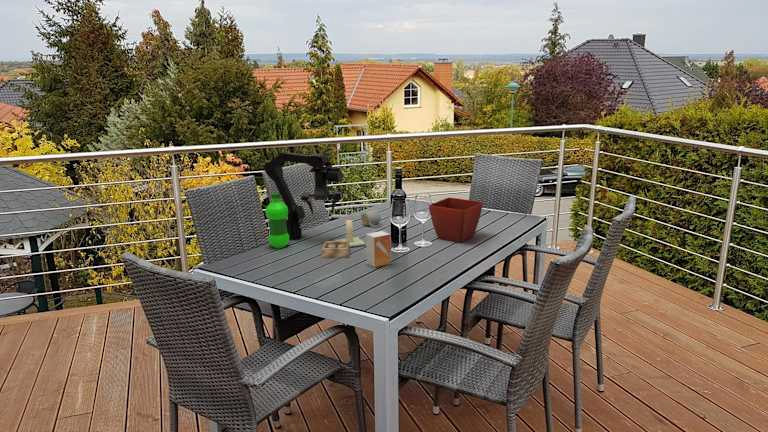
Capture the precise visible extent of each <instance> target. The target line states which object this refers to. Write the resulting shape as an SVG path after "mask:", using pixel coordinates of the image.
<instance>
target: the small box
mask: <svg viewBox="0 0 768 432" xmlns="http://www.w3.org/2000/svg"><path fill="white" fill-rule="evenodd" d="M365 236H366V237H365V239H366V240H365V241H366V242H365V243H366V245H365V246H366V264H367V265H370V266H371V267H373V268H378V267H382V266H386V265H390V264H391V262H392V261H391V233H388V232H386V231H384V230H380V231H375V232H374V231H373V232H370V233H366V234H365Z"/></svg>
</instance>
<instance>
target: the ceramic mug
mask: <svg viewBox="0 0 768 432" xmlns="http://www.w3.org/2000/svg"><path fill="white" fill-rule="evenodd" d="M381 220H382V217H381V214H380V212H379V211H378V210H377V209H371V210H369V211H364V212H363V213H362V214H361V223H362V224H363V225H364V226H366V227H367V226H368V227H369V226H370V227H371V228H375V229H376V228H379V227H380V226H381Z"/></svg>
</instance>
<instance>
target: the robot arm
mask: <svg viewBox="0 0 768 432" xmlns="http://www.w3.org/2000/svg"><path fill="white" fill-rule="evenodd" d="M287 162H291V163H298V164H305V165H308V166H310V167H311V168H310V170H309V172H310V173H313V174H314V175H313V176H314V189H313V190H314V191H313V193H311V192H310V191H309V192H302V194H301V195H300V201H302V202H304V203H306V204H307V205H308V207H309V210H310V212H311V215H314V206H313V199H314V201H325V200H326V199H332V200H331V214H332V215H333V213H334V210H335V206H336V203H337V202H339V201H340V200H342V198H343V193H342V192H341V191H333V192H332V193H330V189H329V188H328V183H342V182H343V181H344V180H343V179H344V173H343V171H342V170H341V169H342V168H341V167H339V166H338V167H333V165H332V164H331V162H330V161H329V160H328V156H326V154H324V153H316V154H304V153H296V152H289V151H282V152H279V154H277V156H276V157H274V158H273V159H271V160H270V161H268V162H266V163H265V164H264V167H263V170H264V172H265V173H266V175H267V176H268V177H269V178H270V179H271V180H272V181H273V182H274V185H275V186H276V189H277V190H278V193H280V198H281V199H282V201H283V203H284V204H285V205H286V206H287V208H288V216H287V219H286V227H287V233H288V234H289V240H300V239H301V238H302V237H303V228H302V226H301V224H302V223H303V221H304V220H305V218H306V214H305V213H306V211H305V209H304V207H303V205H302V204H301V205H298V204H297V203H296V201H295V199H294V197H293V195H292V193H291V191H290V188H289V186H288V184H287V182H286V180H285V178H284V170H283V166H285V164H286V163H287Z"/></svg>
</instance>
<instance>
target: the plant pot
mask: <svg viewBox="0 0 768 432" xmlns="http://www.w3.org/2000/svg"><path fill="white" fill-rule="evenodd" d="M483 204H484V203H483V201H477V200H471V199H463V198H457V197H447V198H444V199H442V200H439V201H436V202H433V203H430V204H428V209H429V214H430V218H431V223H432V225H433V228H434V232H435V233H436V236H437V238H438V239H440V240H445V241H450V242H454V243H460V244H461V243H463V242H464V241H468V240H469V239H470V238H473V237H474V235H475V233H476V231H477V227H478V226H479V222H480V218H481V214H482V210H483Z"/></svg>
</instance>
